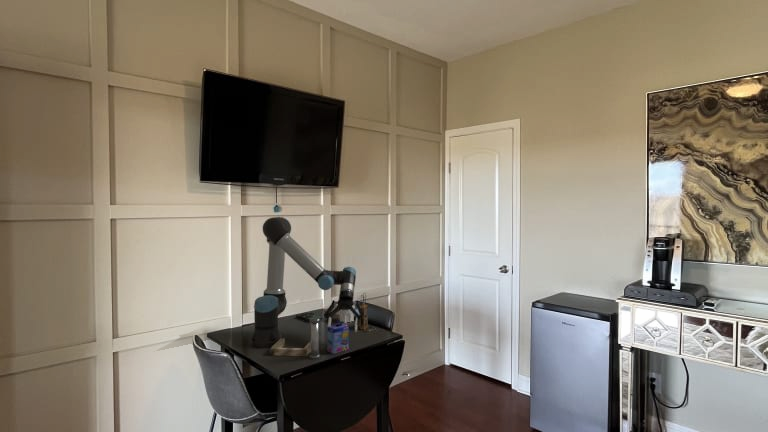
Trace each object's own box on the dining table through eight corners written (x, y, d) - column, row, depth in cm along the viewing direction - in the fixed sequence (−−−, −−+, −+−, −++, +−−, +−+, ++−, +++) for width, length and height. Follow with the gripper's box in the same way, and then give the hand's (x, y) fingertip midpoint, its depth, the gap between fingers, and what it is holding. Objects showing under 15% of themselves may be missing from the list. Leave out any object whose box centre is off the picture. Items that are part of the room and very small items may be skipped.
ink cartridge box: (333, 354, 195) (333, 324, 195) (326, 351, 199) (326, 321, 199) (349, 349, 202) (349, 320, 202) (342, 346, 206) (342, 318, 206)
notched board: (269, 355, 194) (269, 348, 194) (281, 344, 210) (280, 338, 210) (307, 356, 193) (307, 349, 193) (315, 345, 209) (315, 339, 209)
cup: (337, 319, 256) (337, 304, 256) (353, 318, 259) (353, 303, 259) (339, 324, 247) (339, 307, 247) (356, 323, 249) (356, 306, 249)
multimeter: (375, 332, 229) (375, 297, 229) (358, 331, 231) (358, 296, 231) (380, 325, 244) (380, 291, 243) (364, 324, 246) (364, 291, 245)
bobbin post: (308, 359, 189) (308, 320, 189) (311, 355, 194) (310, 317, 194) (318, 359, 189) (318, 320, 188) (321, 355, 194) (321, 317, 193)
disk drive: (295, 319, 260) (310, 323, 250) (295, 315, 260) (309, 319, 250) (309, 316, 267) (323, 320, 257) (309, 312, 267) (323, 315, 257)
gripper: (370, 297, 219) (367, 334, 205) (324, 297, 221) (318, 333, 206) (369, 289, 214) (366, 326, 199) (322, 289, 216) (315, 326, 201)
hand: (342, 330), depth 203 cm, fingers open, 13 cm apart
